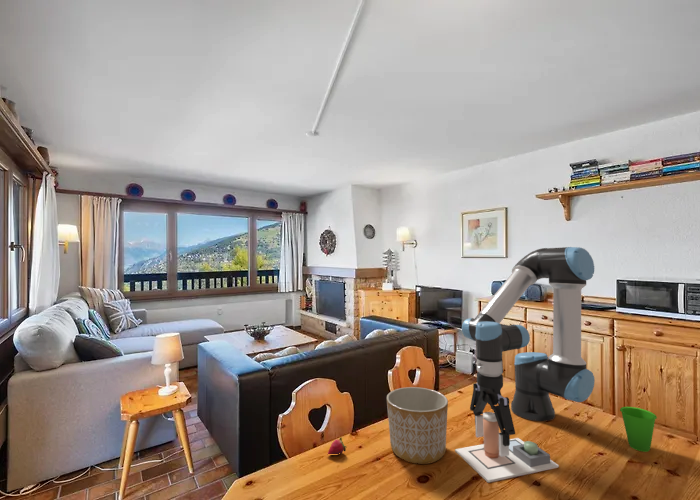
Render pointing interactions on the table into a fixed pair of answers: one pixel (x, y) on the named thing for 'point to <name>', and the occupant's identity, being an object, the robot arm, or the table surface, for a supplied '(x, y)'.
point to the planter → (417, 424)
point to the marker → (491, 435)
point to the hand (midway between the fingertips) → (491, 445)
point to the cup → (638, 427)
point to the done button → (530, 448)
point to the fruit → (337, 447)
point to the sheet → (499, 463)
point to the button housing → (531, 460)
